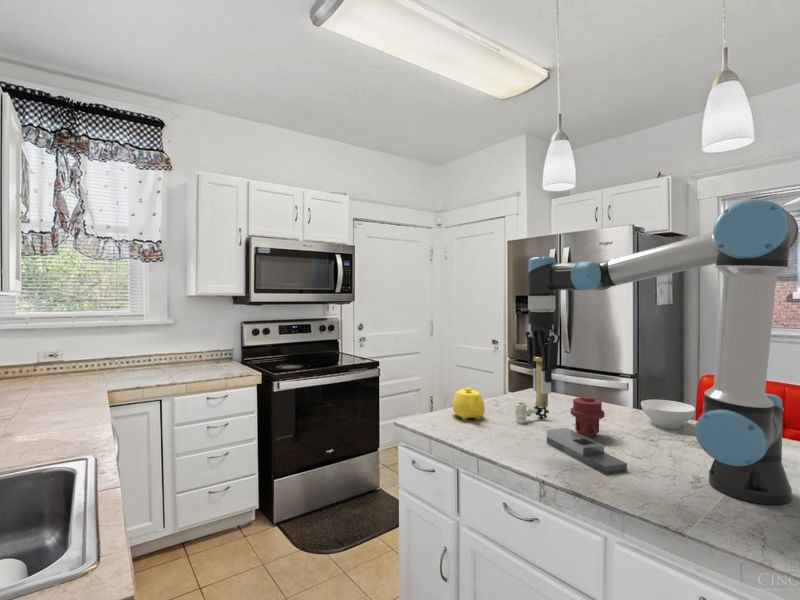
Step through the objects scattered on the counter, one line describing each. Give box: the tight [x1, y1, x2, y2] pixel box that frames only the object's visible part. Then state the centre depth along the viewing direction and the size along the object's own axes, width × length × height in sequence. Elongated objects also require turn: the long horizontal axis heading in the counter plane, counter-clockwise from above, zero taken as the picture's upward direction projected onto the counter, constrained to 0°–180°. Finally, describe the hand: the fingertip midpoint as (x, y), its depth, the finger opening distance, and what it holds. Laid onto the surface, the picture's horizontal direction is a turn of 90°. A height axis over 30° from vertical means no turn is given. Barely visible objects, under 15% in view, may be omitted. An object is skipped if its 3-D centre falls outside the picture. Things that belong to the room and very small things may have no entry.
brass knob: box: [534, 356, 549, 408], centre depth 127 cm, size 5×5×14 cm
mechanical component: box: [570, 395, 605, 439], centre depth 141 cm, size 12×10×10 cm
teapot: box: [452, 387, 486, 421], centre depth 162 cm, size 18×11×11 cm, turn 13°
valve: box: [514, 402, 550, 424], centre depth 157 cm, size 7×7×12 cm
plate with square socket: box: [546, 427, 628, 475], centre depth 124 cm, size 24×7×4 cm, turn 17°
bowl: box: [640, 399, 696, 430], centre depth 151 cm, size 16×16×7 cm
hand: (542, 391), depth 127 cm, fingers closed on brass knob, 3 cm apart
